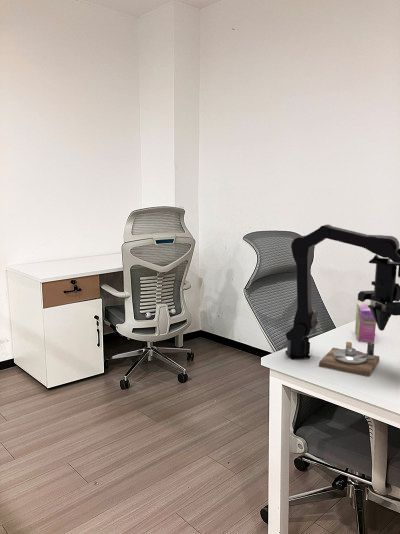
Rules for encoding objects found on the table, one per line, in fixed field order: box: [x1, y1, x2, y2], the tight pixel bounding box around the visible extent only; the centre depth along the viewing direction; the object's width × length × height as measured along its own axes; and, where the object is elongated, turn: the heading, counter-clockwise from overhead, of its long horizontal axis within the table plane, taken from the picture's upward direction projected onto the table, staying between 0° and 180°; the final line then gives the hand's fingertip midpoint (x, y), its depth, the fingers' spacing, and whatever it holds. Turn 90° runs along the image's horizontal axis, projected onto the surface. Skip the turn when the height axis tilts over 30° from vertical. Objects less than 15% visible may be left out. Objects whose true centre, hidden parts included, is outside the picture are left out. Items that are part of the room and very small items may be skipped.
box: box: [354, 302, 377, 344], centre depth 173 cm, size 10×6×12 cm, turn 168°
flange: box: [334, 342, 376, 364], centre depth 148 cm, size 12×10×5 cm
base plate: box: [318, 341, 380, 378], centre depth 148 cm, size 15×15×4 cm
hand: (381, 330), depth 140 cm, fingers closed
